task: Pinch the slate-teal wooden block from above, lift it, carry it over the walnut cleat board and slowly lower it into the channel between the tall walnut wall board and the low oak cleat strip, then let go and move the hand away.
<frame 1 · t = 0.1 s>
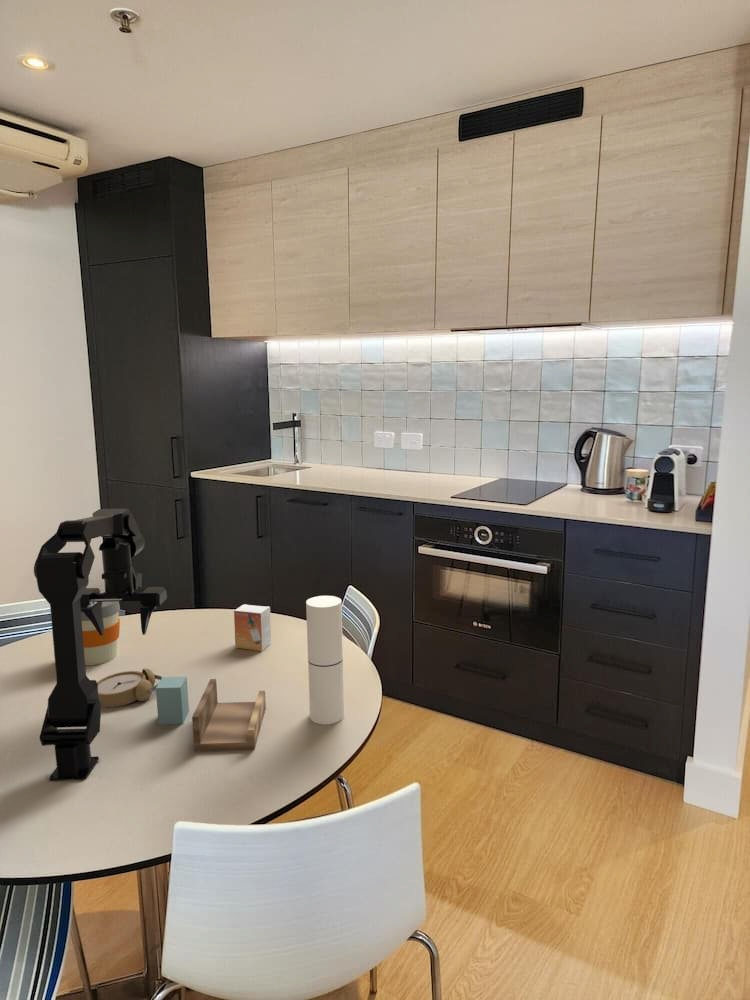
hand: (123, 634, 143), 15 cm above the table, tool pointing down, fingers open, 9 cm apart
alarm clock: (129, 696, 146), on the table
cylindrical container: (327, 716, 136), on the table
cleat board: (232, 728, 131), on the table
teal block: (174, 717, 136), on the table
small box: (253, 646, 172), on the table
reusable coffee cup: (97, 658, 166), on the table
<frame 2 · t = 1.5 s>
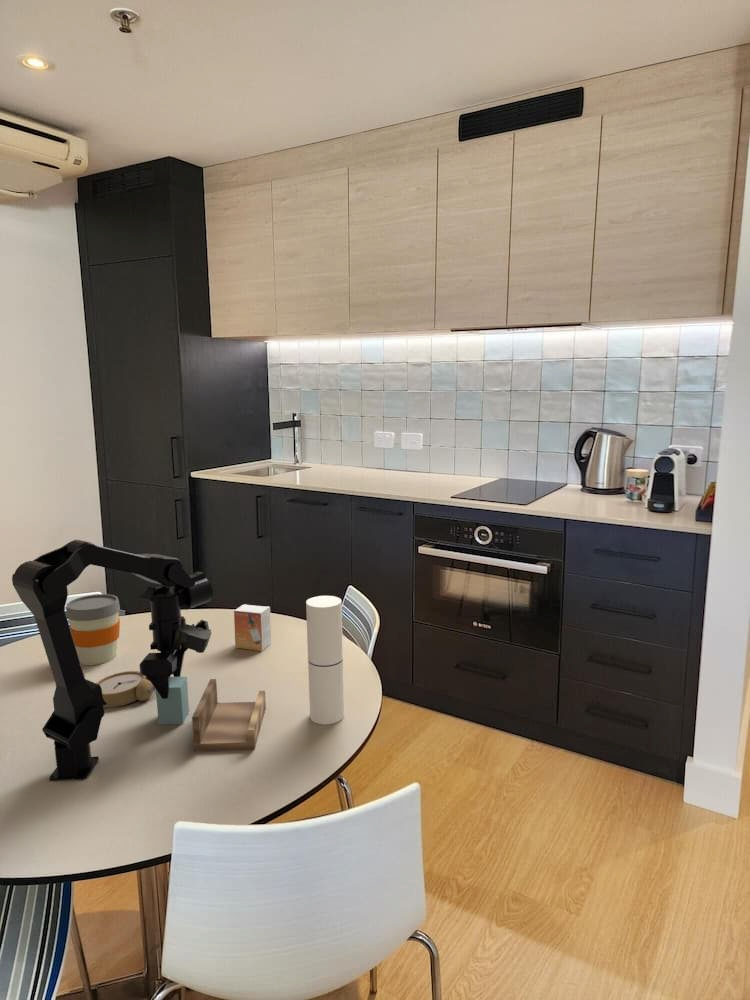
hand: (171, 687, 134), 7 cm above the table, tool pointing down, fingers open, 9 cm apart
nothing on the table moved.
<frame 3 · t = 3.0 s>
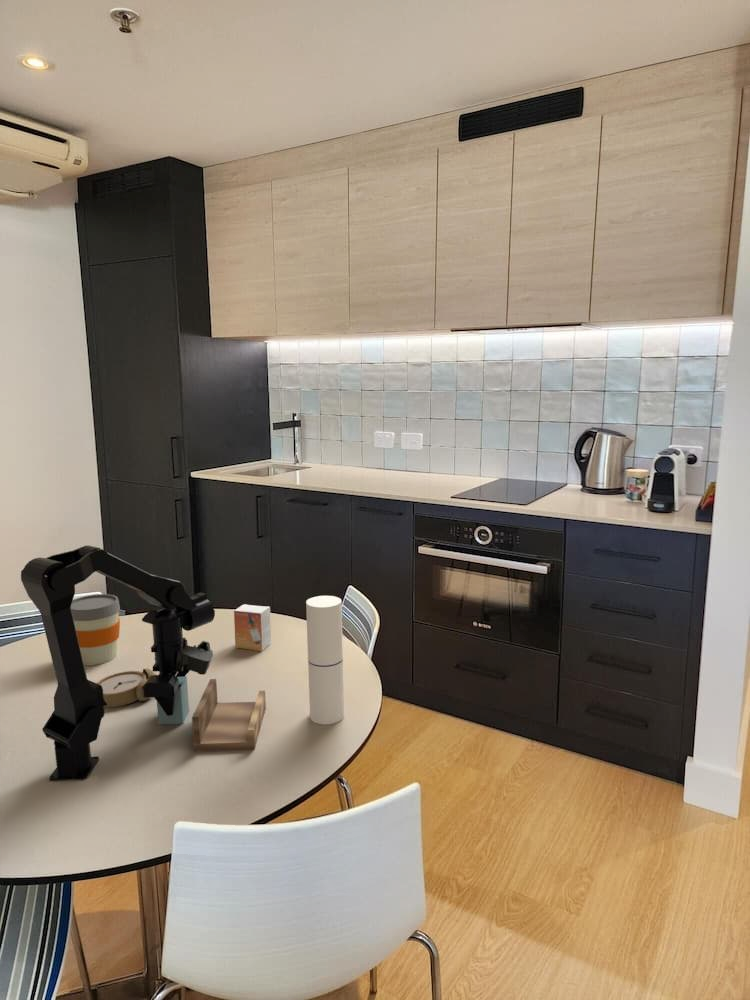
hand: (173, 708, 135), 2 cm above the table, tool pointing down, fingers closed on teal block, 5 cm apart
teal block: (174, 717, 136), on the table, touching gripper
everything else where it was.
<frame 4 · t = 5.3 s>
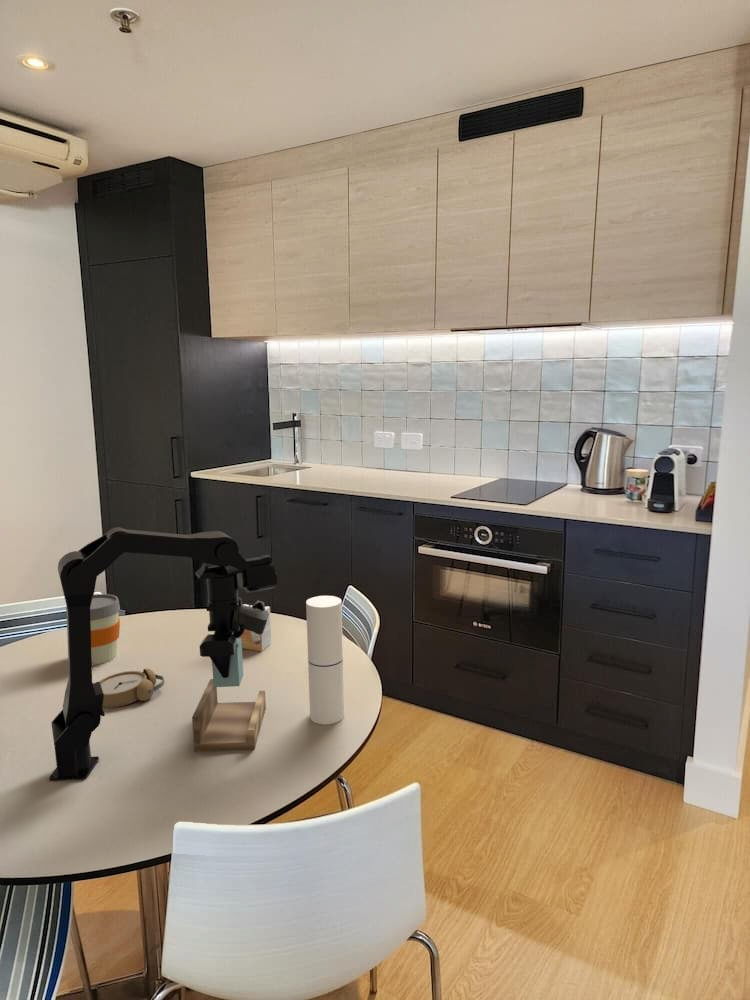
hand: (228, 671, 129), 12 cm above the table, tool pointing down, fingers closed on teal block, 5 cm apart
teal block: (228, 680, 130), point 10 cm above the table, touching gripper
everything else where it was.
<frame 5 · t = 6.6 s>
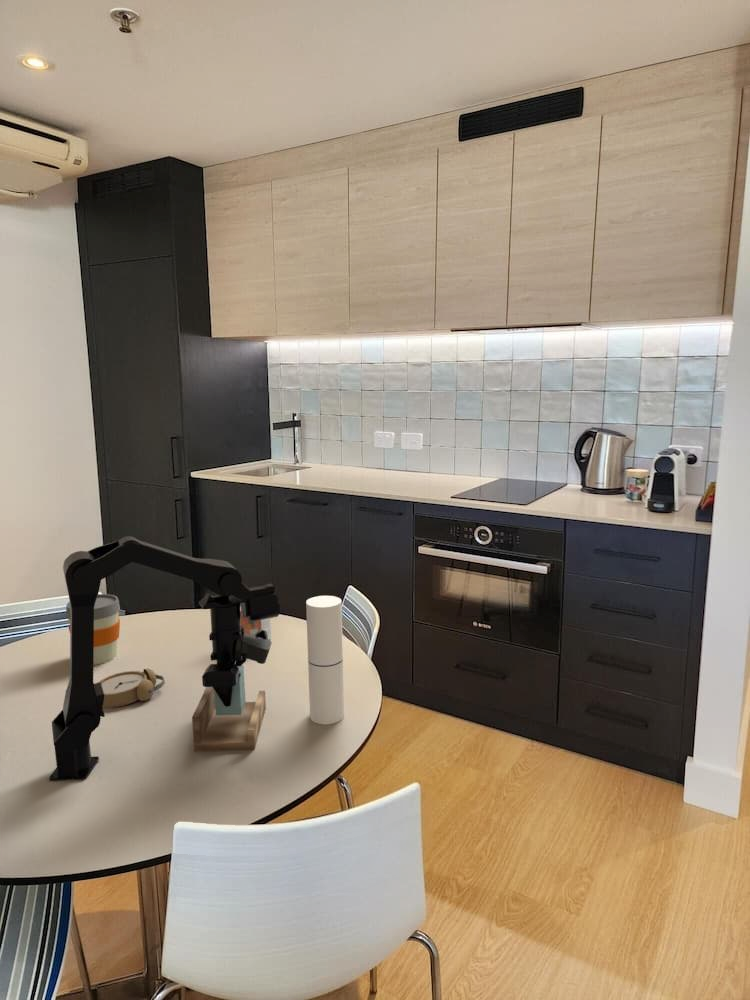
hand: (230, 699, 130), 6 cm above the table, tool pointing down, fingers closed on teal block, 5 cm apart
teal block: (230, 708, 130), point 4 cm above the table, touching gripper
everything else where it was.
when the fingers open (5 cm above the table, at t = 7.8 s): teal block drops 1 cm, resting on cleat board.
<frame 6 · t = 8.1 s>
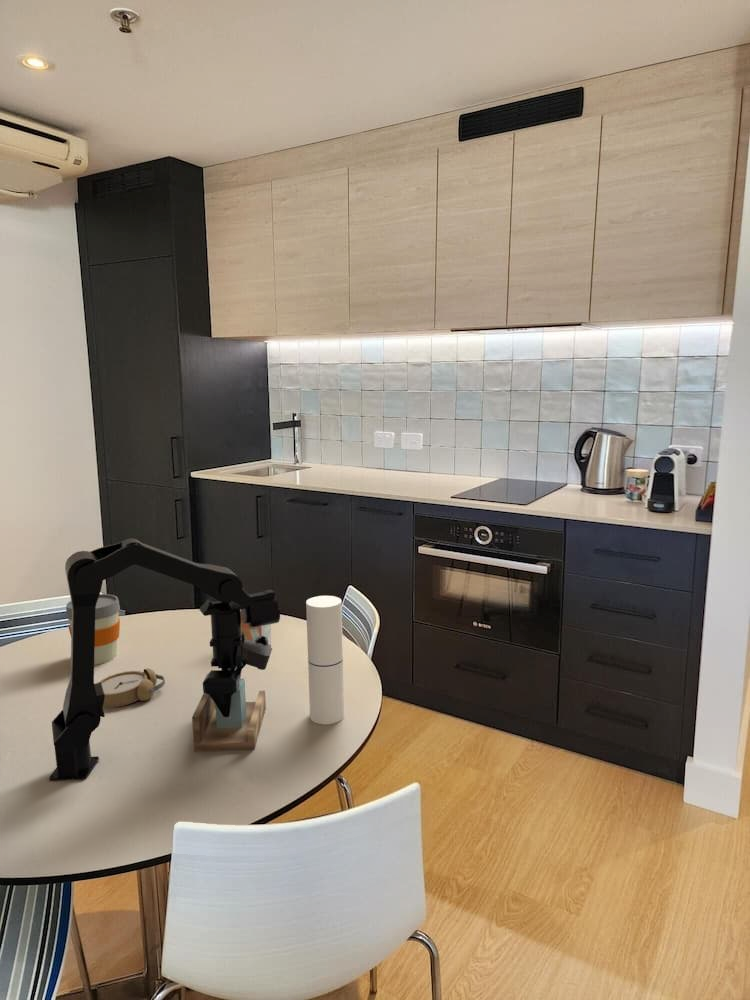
hand: (230, 705, 130), 5 cm above the table, tool pointing down, fingers open, 9 cm apart
teal block: (231, 721, 131), point 1 cm above the table, touching cleat board
everything else where it was.
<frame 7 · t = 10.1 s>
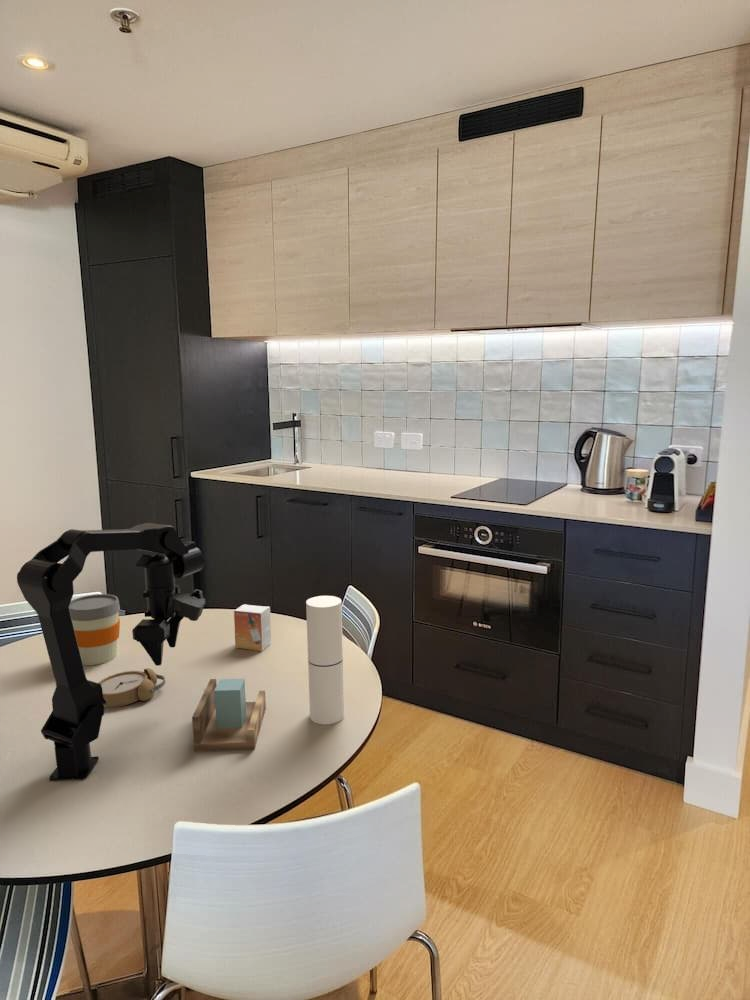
hand: (165, 655, 136), 13 cm above the table, tool pointing down, fingers open, 9 cm apart
nothing on the table moved.
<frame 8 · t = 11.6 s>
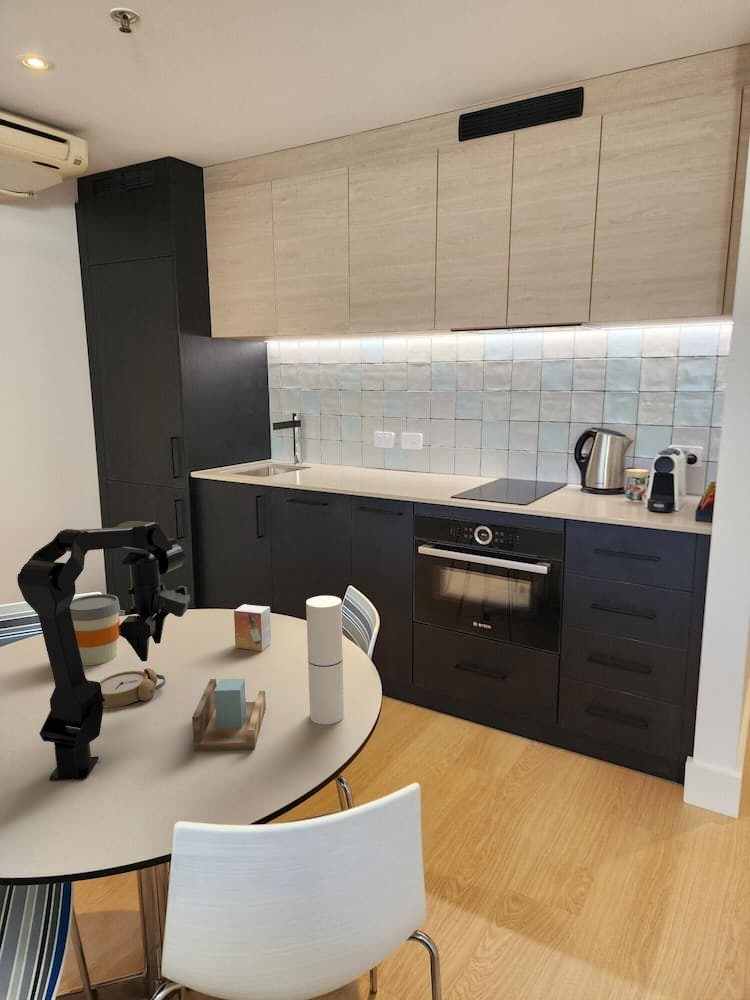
hand: (151, 651, 137), 13 cm above the table, tool pointing down, fingers open, 9 cm apart
nothing on the table moved.
at the end: teal block inside the target area on the cleat board (0.0 cm from its centre), point 1.5 cm above the cleat board's base; teal block tilted 0°; the gripper is holding nothing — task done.
